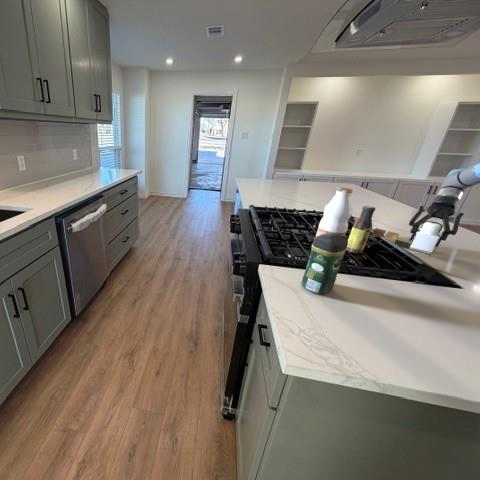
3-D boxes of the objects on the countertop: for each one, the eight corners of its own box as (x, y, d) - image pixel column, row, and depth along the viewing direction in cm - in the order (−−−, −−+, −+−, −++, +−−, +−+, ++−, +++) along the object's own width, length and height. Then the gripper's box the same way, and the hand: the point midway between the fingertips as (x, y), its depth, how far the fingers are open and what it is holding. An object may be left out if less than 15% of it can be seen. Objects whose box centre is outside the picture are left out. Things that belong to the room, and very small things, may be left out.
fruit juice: (306, 254, 106) (325, 187, 95) (317, 248, 111) (336, 185, 100) (330, 263, 99) (354, 192, 88) (341, 257, 104) (364, 189, 93)
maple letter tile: (396, 241, 120) (399, 233, 119) (394, 243, 118) (397, 235, 116) (385, 238, 123) (388, 231, 122) (383, 240, 121) (386, 232, 119)
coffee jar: (312, 277, 88) (327, 228, 81) (336, 289, 82) (355, 236, 75) (295, 285, 84) (310, 233, 76) (319, 298, 78) (338, 243, 70)
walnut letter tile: (382, 238, 124) (386, 230, 122) (380, 240, 121) (383, 232, 120) (373, 235, 127) (375, 228, 125) (370, 237, 124) (373, 229, 123)
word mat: (433, 249, 113) (433, 248, 113) (429, 255, 107) (430, 254, 107) (373, 234, 129) (373, 233, 129) (367, 239, 123) (367, 238, 123)
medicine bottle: (411, 243, 117) (423, 218, 112) (433, 248, 112) (445, 223, 108) (409, 247, 113) (421, 222, 108) (432, 252, 108) (445, 226, 103)
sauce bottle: (361, 255, 106) (378, 210, 98) (343, 251, 110) (359, 206, 102) (363, 250, 110) (380, 206, 102) (346, 246, 114) (361, 203, 106)
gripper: (417, 190, 117) (394, 230, 114) (484, 200, 102) (461, 246, 99) (414, 200, 122) (392, 238, 119) (478, 210, 107) (455, 254, 104)
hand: (423, 242), depth 109 cm, fingers closed on medicine bottle, 7 cm apart
